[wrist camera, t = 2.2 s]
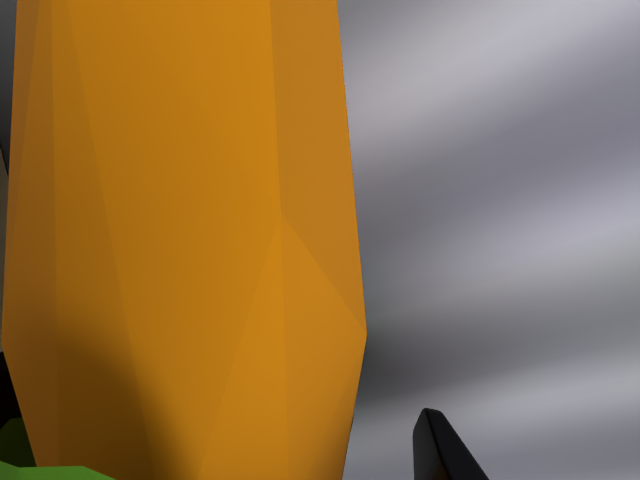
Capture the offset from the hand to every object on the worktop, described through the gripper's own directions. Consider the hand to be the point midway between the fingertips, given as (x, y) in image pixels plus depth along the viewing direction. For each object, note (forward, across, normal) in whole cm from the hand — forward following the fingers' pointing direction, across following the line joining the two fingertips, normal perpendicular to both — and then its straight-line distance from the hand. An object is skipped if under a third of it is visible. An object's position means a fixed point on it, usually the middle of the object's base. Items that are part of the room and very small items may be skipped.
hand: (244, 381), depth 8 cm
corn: (+2, +1, 0) cm, 3 cm away
